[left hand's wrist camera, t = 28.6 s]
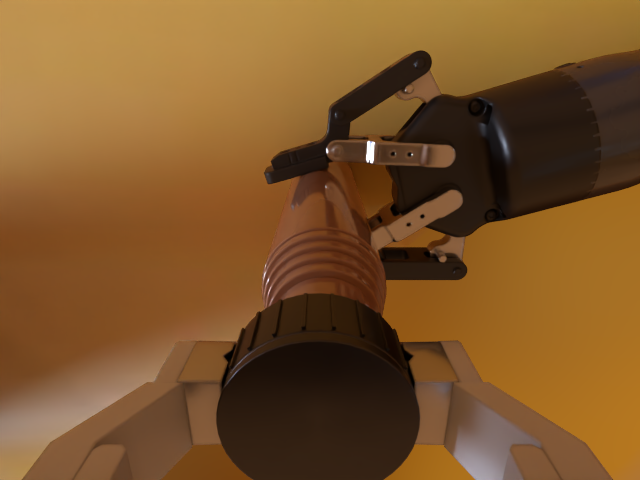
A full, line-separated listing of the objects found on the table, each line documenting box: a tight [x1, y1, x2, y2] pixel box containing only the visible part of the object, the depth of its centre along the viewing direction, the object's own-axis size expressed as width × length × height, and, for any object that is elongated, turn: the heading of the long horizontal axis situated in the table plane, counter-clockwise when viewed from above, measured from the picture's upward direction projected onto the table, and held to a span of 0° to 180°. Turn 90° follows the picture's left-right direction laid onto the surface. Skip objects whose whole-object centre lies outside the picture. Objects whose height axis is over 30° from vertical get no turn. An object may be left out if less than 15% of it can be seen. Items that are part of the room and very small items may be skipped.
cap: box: [216, 293, 420, 480], centre depth 9 cm, size 4×4×2 cm
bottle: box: [262, 161, 386, 317], centre depth 20 cm, size 4×4×22 cm
